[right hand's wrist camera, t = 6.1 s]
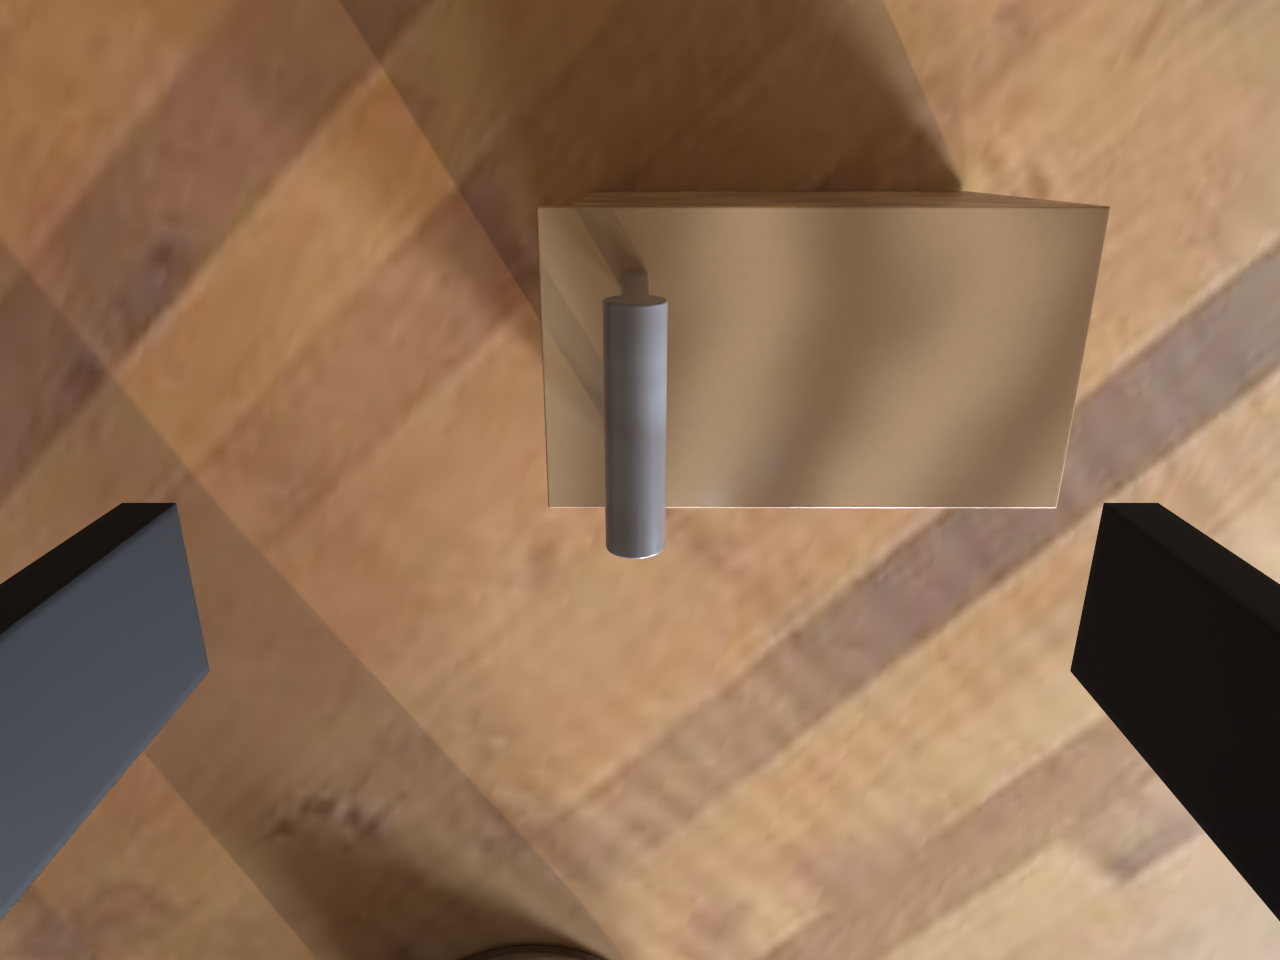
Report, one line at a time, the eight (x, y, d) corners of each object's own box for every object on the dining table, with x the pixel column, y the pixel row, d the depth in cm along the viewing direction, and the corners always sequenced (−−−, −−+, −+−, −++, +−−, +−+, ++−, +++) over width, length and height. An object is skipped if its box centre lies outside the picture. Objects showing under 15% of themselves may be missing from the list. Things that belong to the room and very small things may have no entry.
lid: (550, 498, 28) (518, 620, 21) (540, 204, 25) (496, 225, 18) (1044, 498, 28) (1189, 620, 21) (1096, 204, 25) (1287, 225, 18)
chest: (595, 409, 38) (579, 497, 28) (591, 191, 35) (572, 204, 25) (940, 410, 38) (1044, 497, 28) (967, 191, 35) (1094, 204, 25)
